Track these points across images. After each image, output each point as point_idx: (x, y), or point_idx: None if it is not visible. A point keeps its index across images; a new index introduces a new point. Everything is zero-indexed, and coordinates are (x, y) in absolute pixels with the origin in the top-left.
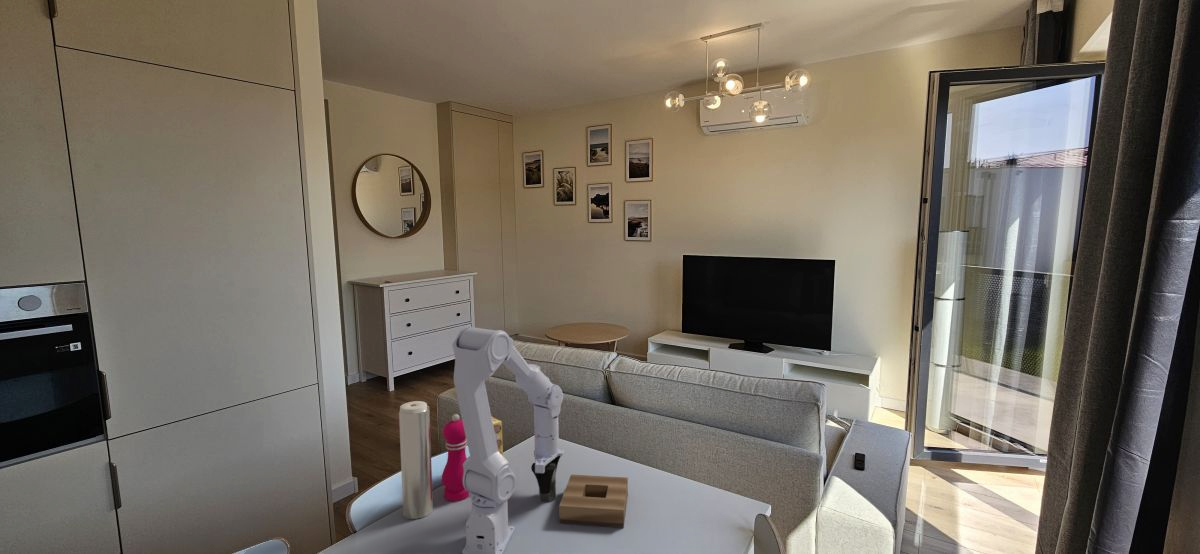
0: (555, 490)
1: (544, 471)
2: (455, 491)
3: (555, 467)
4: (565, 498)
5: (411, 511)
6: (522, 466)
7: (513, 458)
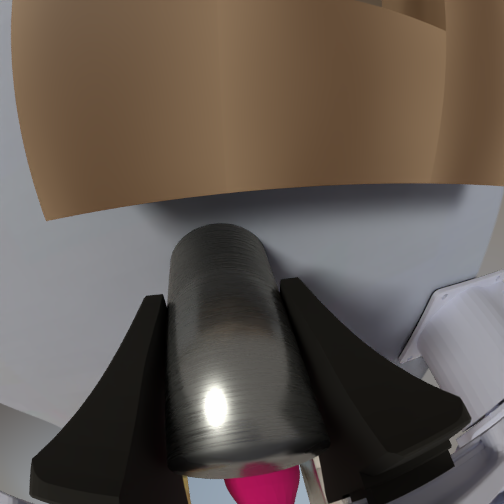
0: (222, 254)
1: (502, 422)
2: None
3: (444, 435)
4: (461, 159)
5: None
6: (49, 391)
7: (36, 408)
